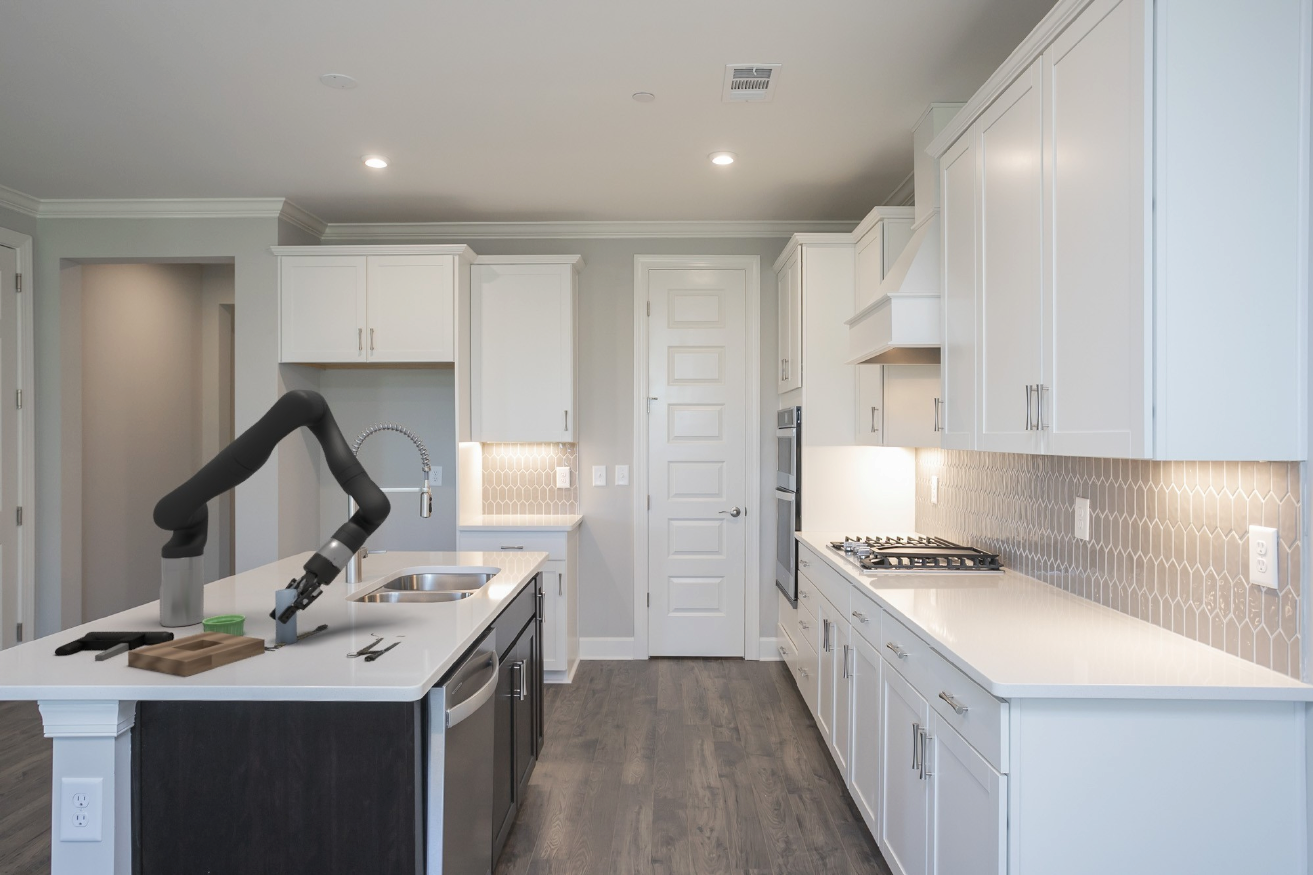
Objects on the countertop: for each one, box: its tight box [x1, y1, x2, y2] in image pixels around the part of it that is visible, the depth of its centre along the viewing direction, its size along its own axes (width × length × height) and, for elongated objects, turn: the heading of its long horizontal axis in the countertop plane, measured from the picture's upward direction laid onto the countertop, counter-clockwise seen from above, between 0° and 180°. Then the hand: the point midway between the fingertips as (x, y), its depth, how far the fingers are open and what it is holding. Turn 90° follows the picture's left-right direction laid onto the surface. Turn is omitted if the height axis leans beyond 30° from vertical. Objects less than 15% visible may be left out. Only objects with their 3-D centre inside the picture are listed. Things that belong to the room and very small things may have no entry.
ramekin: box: [201, 614, 246, 636], centre depth 181 cm, size 9×9×4 cm
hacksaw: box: [346, 632, 406, 662], centre depth 173 cm, size 24×10×2 cm, turn 176°
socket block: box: [127, 631, 266, 677], centre depth 163 cm, size 18×18×3 cm
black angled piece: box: [54, 630, 175, 662], centre depth 170 cm, size 3×20×16 cm
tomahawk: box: [265, 623, 328, 652], centre depth 179 cm, size 21×7×1 cm, turn 166°
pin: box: [274, 588, 298, 646], centre depth 176 cm, size 4×4×12 cm
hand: (276, 619), depth 175 cm, fingers closed on pin, 4 cm apart
